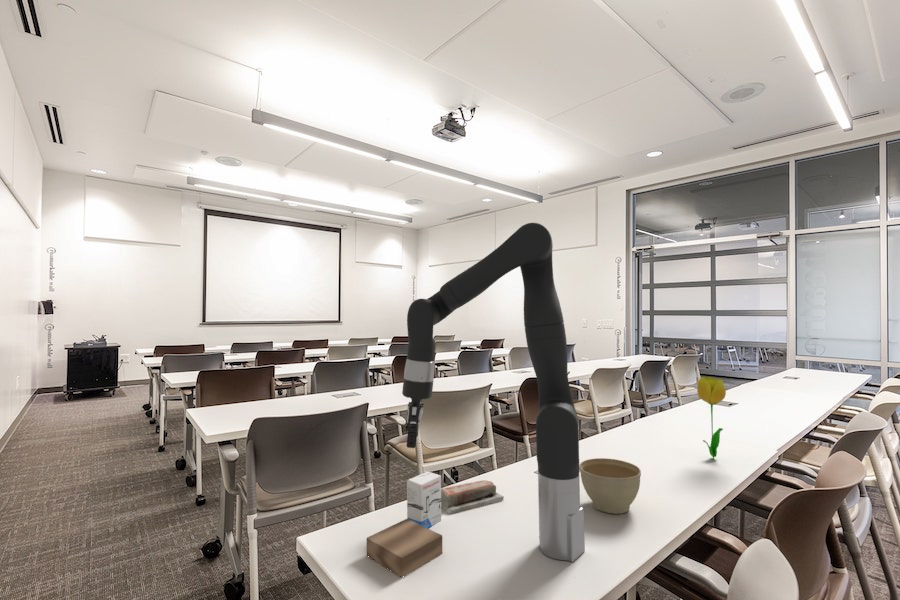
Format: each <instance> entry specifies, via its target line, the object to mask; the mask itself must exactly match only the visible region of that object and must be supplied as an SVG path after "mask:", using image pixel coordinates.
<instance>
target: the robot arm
mask: <svg viewBox="0 0 900 600" xmlns="http://www.w3.org/2000/svg"><path fill="white" fill-rule="evenodd" d="M519 267H520V273H521V276H522V281H523V324H524V325H523V326H524V332H525V339H526V346H527V350H528V353H529V357H530V361H531V364H532V367H533V371H534V373H535V377H536V382H537V391H538V415H537V417H536V421H535V436H536V437H535V439H536V441H535V443H536V444H535V445H536V461H537V462H536V463H537V477H538V478H537V481H538V482H537V483H538V484H537V485H538V486H537V487H538V489H537V490H538V497H537V498H538V531H539V532H538V533H539V534H538V535H539V536H538V538H539V541H538V542H539V550H540V551H541V552H542V554H544V555H545V556H547V557H549V558H551V559H555V560H561V561H567V562H568V561H569V562H571V563H572V562H575V560H577V559H578V558H579V557H580V556H582V554H583V553H584V552H585V551H586V548H585V547H586V542H585V541H586V540H585V511H584V510H585V509H584V508H583V506H582V507H581V497H580V495H581V494H580V493H581V489H580V468H579V465H580V445H579V444H580V441H579V439H580V438H579V435H580V434H579V432H580V431H579V417H578V413H577V411H576V408H575V403H574V400H573V396H572V392H571V387H570V382H569V376H568V373H569V372H568V345H567V343H568V342H567V334H566V328H565V323H564V321H565V320H564V316H563V311H562V307H561V304H560V300H559V296H558V293H557V289H556V285H555V280H554V270H553V269H554V268H553V239H552V234H551V232H550V231H549V229H548V228H547V227H546V226H545V225H543V224H541V223H538V222H528V223H525V224H523V225H521V226H520V227H518V229H517V230H516V231H514V233H513V234H512V235H510V236H509V237H508V238H507V239H506V240H505V241H503V242H502V244H500V245H499V246H498V247H497V248H495V249H494V250H492V251H491V252H490V253H489V254H488V255H485V257H484V258H482V259H481V260H479V261H478V262H476V263H475V264H473V265H472V266H470V267H468V268H467V269H465V270H464V271H462V272H461V273H458V274H457V275H456V276H455V277H453V278H451V279H450V280H448V281H446V282H445V283H443V285H442V286H441V287H440V289H439V290H438V291H436V293H434V294H433V295H431V296H430V297H429V298H417V299H415V300H413V302H411V304H410V306H409V308H408V310H407V316H406V325H407V327H406V328H407V337H408V346H407V352H406V361H405V364H404V365H405V366H404V374H403V382H402V383H403V385H402V392H401V393H402V396H404V397H405V398H408V399H411V401H409V402H408V404H407V408H406V409H407V416H406V423H407V427H406V432H407V438H406V447H407V448H409V449H415V448H416V446H417V438H418V436H419V428H420V425H421V422H422V416H423V413H424V406H425V402H423V400H427V399H431V398H432V396H433V390H434V389H433V387H434V377H435V358H436V348H437V347H436V345H437V343H436V340H435V339H434V326H435V325H437V324H439V323H440V322H442V321H443V320H445V319H446V318H447V317H448V316H450V314H453V312H454V311H455V310H457V309H459V308H460V307H463V306H464V305H466V304H468V303H469V302H470V301H472V300H474V299H476V298H477V297H479V296H480V295H481V294H483V293H484V292H485V291H486V290H488V289H489V287H491V286H492V285H493V284H495V283H496V282H497V281H498V280H499V279H501V278H502V277H504V276H505V275H507V274H508V273H510V272H512V271H513V270H516V269H517V268H519Z"/></svg>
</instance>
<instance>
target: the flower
mask: <svg viewBox="0 0 900 600" xmlns="http://www.w3.org/2000/svg"><path fill="white" fill-rule="evenodd" d="M696 386H697V387H696V391H697V396H698V398H699V399H700V400H702V401H704V402H706V403H707V404H709V405H710V417H711V422H710V423H711V438H710V439H711V441H710V445H709V444H708V442H707V441H706V440H705V439H703V440H702V442H703V443H705V444H706V446H707V447H708V451H709V454H710V456H711V457H712V459H713V460H714V459H715V458H717V455H718V451H717V450H718V447H719V444H720V440H721V439H720V435H721V431H723V430H724V428H721V427H719V428H718V429H717V430H716V431H715V432H714V430H713V429H714V427H713V425H714V424H713V418H714V417H713V416H714V415H713V410H714V408H713V407H714V405H717V404H719V403H720V402H722V401H724V399H725V398H726V394H727V390H726V388H725V386H724V381H723V379H717V378H716V377H712V376H708V377H706V376H700V378H699V379H698V382H697V385H696ZM713 432H714V433H713Z"/></svg>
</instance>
